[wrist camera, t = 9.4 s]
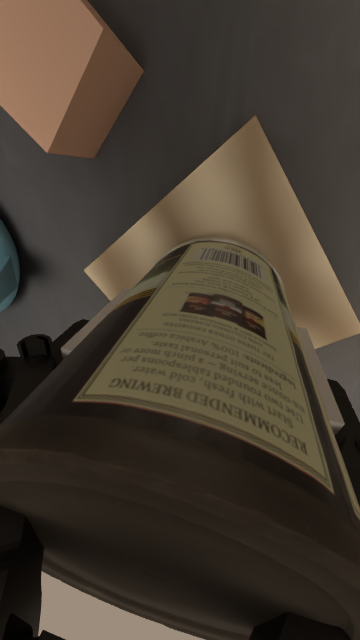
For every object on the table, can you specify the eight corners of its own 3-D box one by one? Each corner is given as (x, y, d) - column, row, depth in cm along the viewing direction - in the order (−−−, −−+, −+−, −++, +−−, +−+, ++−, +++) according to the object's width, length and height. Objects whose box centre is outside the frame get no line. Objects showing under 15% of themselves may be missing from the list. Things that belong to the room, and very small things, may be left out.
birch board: (254, 120, 14) (255, 115, 13) (355, 321, 19) (363, 331, 18) (92, 264, 22) (83, 270, 20) (194, 383, 26) (191, 393, 25)
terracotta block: (64, -29, 13) (-21, -126, 9) (144, 71, 14) (103, 28, 10) (25, 84, 16) (-52, 52, 12) (94, 158, 17) (47, 153, 13)
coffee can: (163, 364, 21) (63, 595, 10) (127, 249, 17) (-159, 431, 5) (288, 363, 18) (365, 700, 7) (288, 221, 13) (587, 536, 2)
